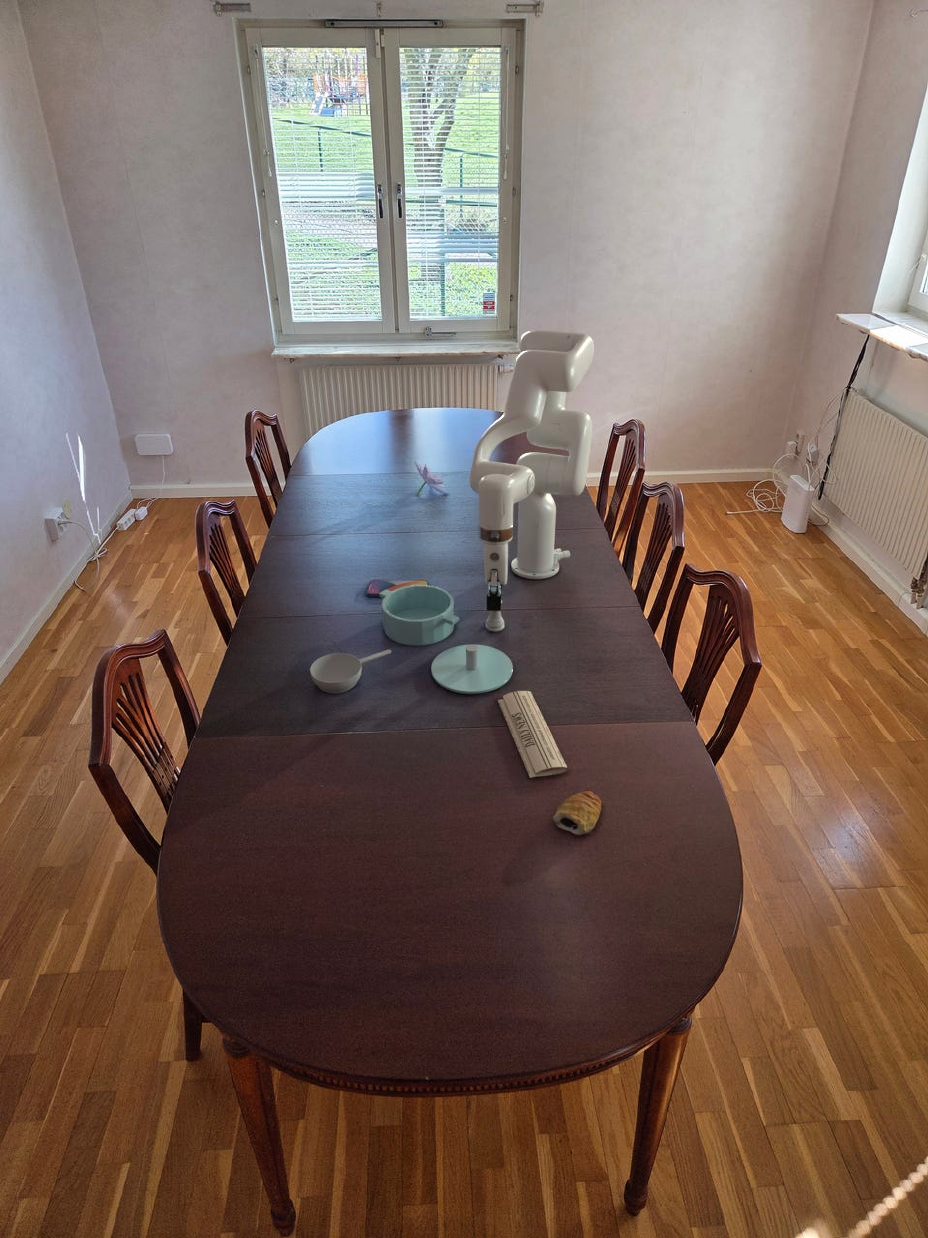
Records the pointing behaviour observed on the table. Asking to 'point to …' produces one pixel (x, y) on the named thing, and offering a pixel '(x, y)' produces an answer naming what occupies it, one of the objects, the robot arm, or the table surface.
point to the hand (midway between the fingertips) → (494, 599)
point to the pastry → (578, 813)
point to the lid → (472, 669)
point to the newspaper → (531, 734)
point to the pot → (418, 614)
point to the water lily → (429, 479)
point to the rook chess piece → (495, 621)
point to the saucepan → (339, 671)
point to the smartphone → (390, 585)
